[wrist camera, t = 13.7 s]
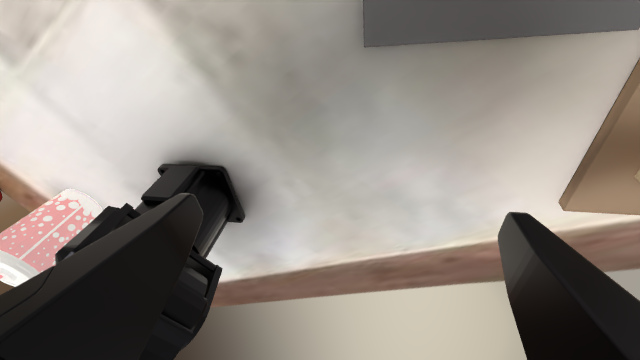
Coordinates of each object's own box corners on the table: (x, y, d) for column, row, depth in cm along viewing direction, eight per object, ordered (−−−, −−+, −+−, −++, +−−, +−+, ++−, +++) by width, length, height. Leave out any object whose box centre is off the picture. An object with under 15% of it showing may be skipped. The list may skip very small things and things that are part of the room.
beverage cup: (48, 193, 33) (-114, 314, 22) (68, 176, 30) (-110, 306, 19) (96, 227, 36) (-29, 348, 25) (119, 214, 33) (-12, 346, 22)
